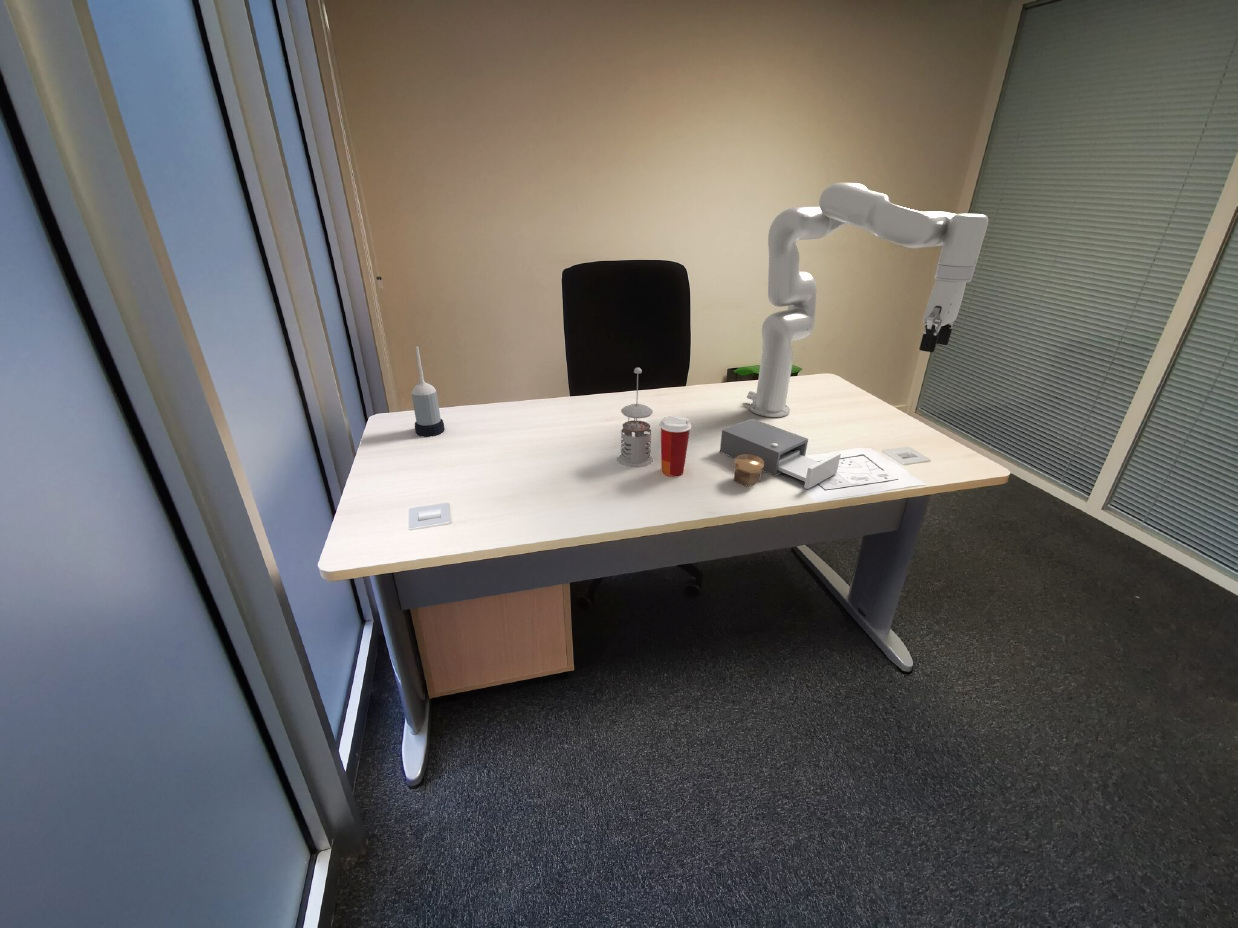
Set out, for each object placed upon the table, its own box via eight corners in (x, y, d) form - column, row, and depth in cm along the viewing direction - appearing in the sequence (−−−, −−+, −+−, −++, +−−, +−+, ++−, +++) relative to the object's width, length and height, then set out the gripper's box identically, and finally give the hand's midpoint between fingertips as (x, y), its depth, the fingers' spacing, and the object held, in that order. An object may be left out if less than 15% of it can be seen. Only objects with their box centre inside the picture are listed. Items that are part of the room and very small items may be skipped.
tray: (746, 462, 141) (749, 443, 139) (776, 448, 149) (778, 431, 147) (807, 489, 129) (811, 469, 127) (836, 472, 137) (840, 453, 134)
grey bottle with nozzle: (444, 424, 163) (431, 342, 152) (445, 435, 156) (432, 349, 145) (415, 427, 161) (401, 344, 149) (415, 438, 154) (400, 352, 142)
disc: (728, 467, 132) (728, 459, 131) (745, 459, 136) (746, 451, 135) (751, 477, 127) (752, 470, 126) (769, 469, 131) (770, 461, 130)
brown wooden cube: (733, 479, 134) (735, 467, 132) (745, 474, 136) (746, 462, 135) (748, 486, 130) (750, 474, 129) (759, 481, 133) (761, 468, 131)
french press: (620, 468, 138) (621, 374, 127) (613, 449, 148) (614, 360, 137) (657, 466, 140) (662, 373, 128) (648, 447, 150) (651, 359, 138)
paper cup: (690, 467, 139) (694, 417, 133) (683, 481, 133) (687, 428, 126) (661, 462, 141) (663, 413, 135) (653, 475, 135) (655, 424, 129)
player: (719, 451, 148) (722, 428, 145) (749, 439, 155) (752, 417, 152) (775, 475, 136) (779, 451, 132) (804, 461, 143) (808, 437, 140)
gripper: (948, 268, 131) (929, 338, 139) (923, 275, 120) (904, 351, 128) (983, 271, 126) (961, 344, 134) (960, 279, 115) (938, 357, 123)
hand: (933, 347), depth 131 cm, fingers open, 9 cm apart
